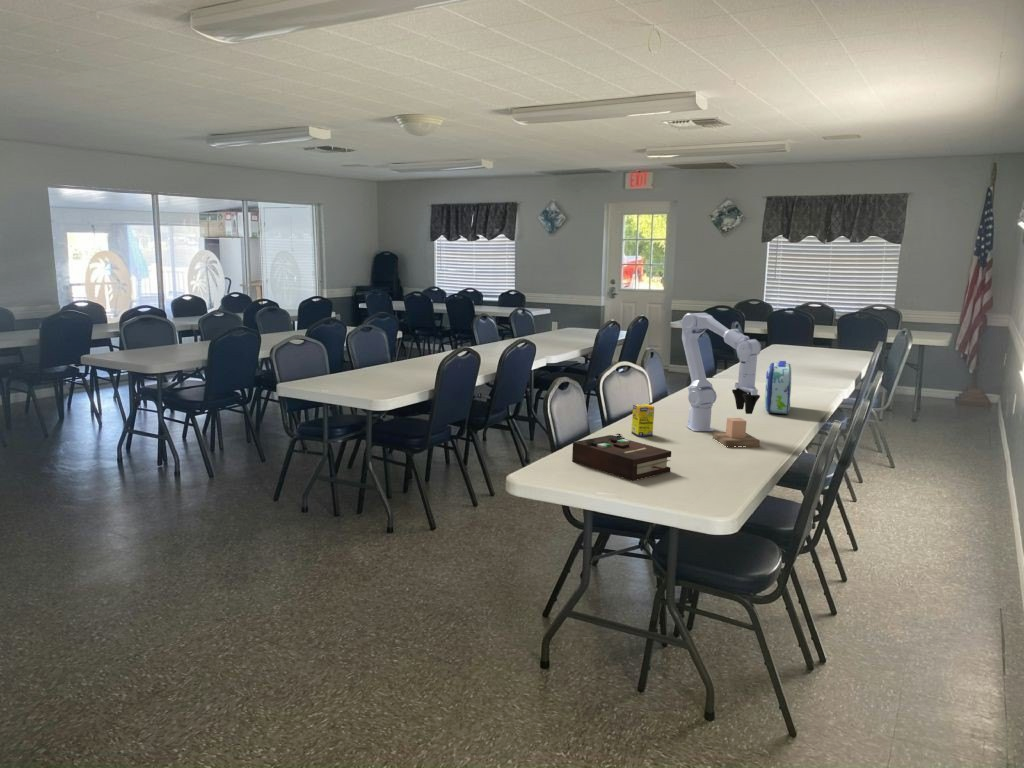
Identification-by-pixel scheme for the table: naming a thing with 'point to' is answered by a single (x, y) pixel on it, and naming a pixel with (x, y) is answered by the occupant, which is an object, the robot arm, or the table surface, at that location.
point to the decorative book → (621, 457)
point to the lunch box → (778, 388)
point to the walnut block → (736, 440)
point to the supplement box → (642, 420)
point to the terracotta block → (736, 427)
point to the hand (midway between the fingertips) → (744, 411)
